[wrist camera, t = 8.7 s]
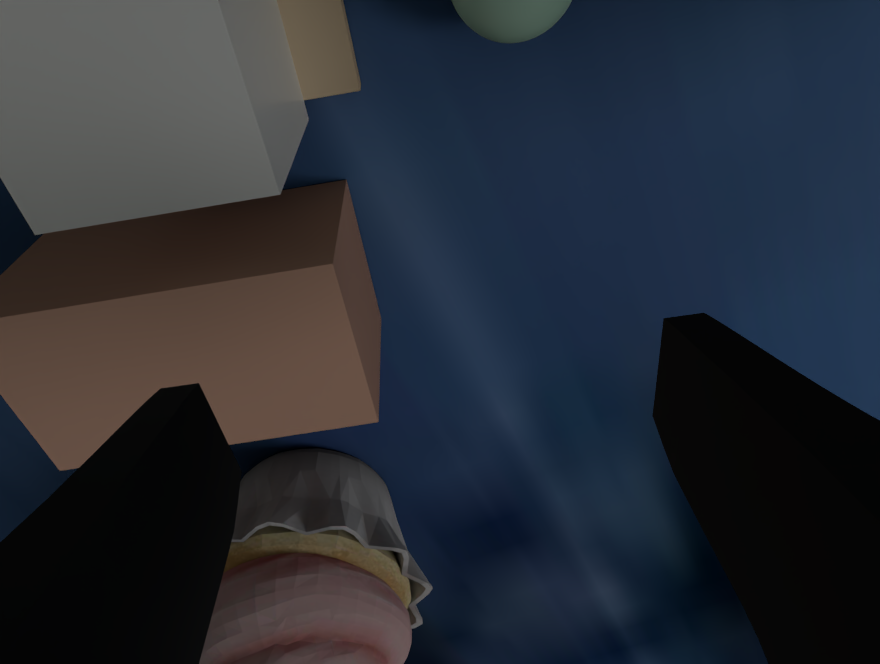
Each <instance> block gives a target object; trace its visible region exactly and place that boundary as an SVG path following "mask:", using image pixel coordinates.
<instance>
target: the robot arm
mask: <svg viewBox="0 0 880 664" xmlns="http://www.w3.org/2000/svg"><path fill="white" fill-rule="evenodd" d="M653 418H654V421H655V424H656V426H657V429H658V432H659V435H660V438H661V441H662V444H663V446H664V449H665V452H666V454H667V457H668V460H669V462H670V465H671V467H672V470H673V473H674V475H675V477H676V479H677V481H678V483H679V485H680V487H681V489H682V491H683V492H684V494H685V496H686V498H687V500H688V502H689V504H690V506H691V508H692V510H693V512H694V514H695V516H696V518H697V520H698V521H699V523H700V525H701V527H702V529H703V531H704V533H705V535H706V537H707V539H708V541H709V542H710V544H711V546H712V548H713V550H714V552H715V554H716V556H717V558H718V560H719V561H720V563H721V565H722V567H723V569H724V571H725V573H726V575H727V577H728V579H729V580H730V582H731V584H732V586H733V588H734V590H735V592H736V594H737V596H738V598H739V600H740V601H741V603H742V605H743V607H744V609H745V611H746V614H747V616H748V618H749V620H750V622H751V624H752V626H753V628H754V630H755V633H756V635H757V637H758V639H759V641H760V644H761V646H762V649H763V651H764V654H765V656H766V658H767V661H768V663H769V664H880V421H879V420H878V419H876V418H874V417H872V416H870V415H869V414H867V413H865V412H863V411H862V410H860V409H858V408H857V407H855V406H853V405H851V404H850V403H848V402H846V401H845V400H843V399H841V398H840V397H838V396H836V395H835V394H833V393H831V392H830V391H828V390H826V389H825V388H823V387H821V386H820V385H818V384H816V383H815V382H813V381H812V380H810V379H808V378H807V377H805V376H804V375H802V374H800V373H799V372H797V371H796V370H794V369H792V368H791V367H789V366H788V365H786V364H784V363H783V362H781V361H780V360H778V359H777V358H775V357H774V356H772V355H770V354H769V353H767V352H766V351H764V350H763V349H761V348H760V347H758V346H756V345H755V344H753V343H752V342H750V341H749V340H747V339H746V338H744V337H742V336H741V335H739V334H738V333H736V332H735V331H733V330H732V329H730V328H728V327H727V326H725V325H724V324H722V323H720V322H719V321H717V320H715V319H714V318H712V317H710V316H709V315H707V314H705V313H699V314H692V315H685V316H678V317H671V318H664V321H663V330H662V338H661V347H660V356H659V365H658V374H657V382H656V391H655V400H654V409H653ZM240 480H241V469H240V467H239V465H238V463H237V461H236V459H235V457H234V455H233V453H232V451H231V448H230V446H229V444H228V442H227V440H226V438H225V436H224V434H223V432H222V430H221V428H220V426H219V424H218V422H217V419H216V417H215V415H214V413H213V411H212V409H211V407H210V405H209V403H208V401H207V399H206V397H205V395H204V392H203V390H202V388H201V386H200V384H199V383H196V384H188V385H181V386H174V387H167V388H160V389H159V390H158V391H157V392H156V393H155V394H154V395H153V396H151V397H150V398H149V399H148V400H147V401H146V402H145V403H144V404H143V405H142V406H141V407H140V408H139V409H138V410H137V411H136V412H135V413H134V414H133V415H132V416H130V417H129V418H128V419H127V420H126V421H125V422H124V423H123V424H122V425H121V426H120V427H119V428H118V429H117V430H116V431H115V432H114V433H113V434H112V435H111V436H110V437H109V438H108V439H107V440H106V441H105V442H104V443H103V444H102V445H101V446H100V448H99V449H98V450H97V451H96V452H94V453H93V454H92V455H91V456H90V457H89V458H88V459H87V460H86V461H85V462H84V463H83V464H82V465H81V466H80V467H79V468H78V469H77V470H76V471H75V472H74V473H73V474H72V475H71V476H70V477H69V478H68V479H67V480H66V481H65V482H64V483H63V484H62V485H61V486H60V487H59V488H58V489H57V490H56V491H55V492H54V493H53V494H52V495H51V496H50V497H49V498H48V499H47V500H46V501H45V502H44V503H42V504H41V505H40V506H39V507H38V508H37V509H36V510H35V511H34V512H33V513H32V514H31V515H29V516H28V517H27V518H26V519H25V520H24V521H23V522H22V523H21V524H20V525H19V526H18V527H17V528H15V529H14V530H13V531H12V532H11V533H10V534H9V535H8V536H7V537H6V538H5V539H4V540H2V541H1V542H0V664H199V662H200V658H201V654H202V651H203V647H204V643H205V640H206V636H207V632H208V628H209V625H210V621H211V617H212V613H213V610H214V606H215V602H216V599H217V595H218V591H219V588H220V584H221V580H222V576H223V572H224V569H225V565H226V561H227V557H228V553H229V549H230V545H231V541H232V537H233V533H234V528H235V521H236V514H237V507H238V498H239V489H240Z"/></svg>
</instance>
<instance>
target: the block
mask: <svg viewBox="0 0 880 664" xmlns="http://www.w3.org/2000/svg"><path fill="white" fill-rule="evenodd" d="M308 120H309V118H308V115H307V111H306V107H305V103H304V100H303V96H302V92H301V89H300V85H299V81H298V77H297V74H296V70H295V66H294V63H293V59H292V55H291V51H290V48H289V44H288V40H287V37H286V33H285V29H284V26H283V22H282V18H281V14H280V11H279V7H278V3H277V0H0V178H1V180H2V181H3V183H4V185H5V186H6V188H7V190H8V191H9V193H10V195H11V196H12V198H13V200H14V201H15V203H16V205H17V206H18V208H19V209H20V211H21V213H22V214H23V216H24V218H25V219H26V221H27V223H28V224H29V226H30V228H31V229H32V231H33V233H34V234H35V235H38V234H45V233H51V232H57V231H63V230H69V229H75V228H81V227H87V226H93V225H99V224H105V223H111V222H117V221H123V220H129V219H136V218H142V217H148V216H154V215H160V214H166V213H172V212H178V211H184V210H190V209H196V208H202V207H208V206H214V205H221V204H227V203H233V202H239V201H245V200H251V199H257V198H263V197H269V196H275V195H280V194H281V192H282V189H283V186H284V184H285V181H286V178H287V176H288V173H289V170H290V168H291V165H292V163H293V160H294V157H295V155H296V152H297V149H298V147H299V144H300V141H301V139H302V136H303V134H304V131H305V128H306V126H307V123H308Z"/></svg>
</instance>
